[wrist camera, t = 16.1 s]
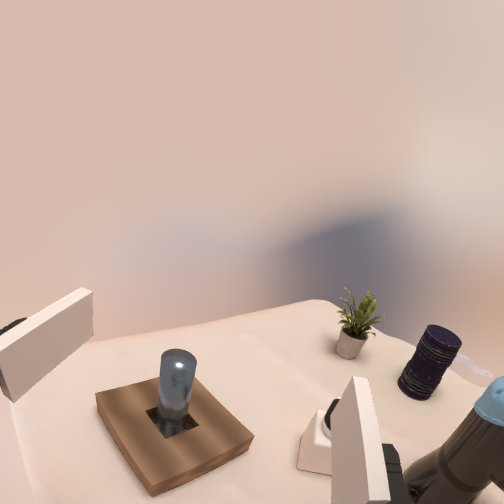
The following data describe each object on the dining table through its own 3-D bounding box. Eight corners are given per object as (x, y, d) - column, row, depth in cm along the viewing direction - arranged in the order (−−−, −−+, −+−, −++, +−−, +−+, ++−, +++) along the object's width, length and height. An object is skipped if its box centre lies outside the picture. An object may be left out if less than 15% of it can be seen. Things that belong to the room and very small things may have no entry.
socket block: (184, 385, 46) (187, 368, 45) (247, 450, 36) (254, 435, 35) (97, 410, 34) (95, 393, 33) (152, 497, 24) (152, 485, 23)
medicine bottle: (340, 477, 32) (381, 429, 29) (295, 469, 33) (329, 420, 30) (341, 444, 39) (375, 395, 36) (301, 436, 40) (330, 384, 37)
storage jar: (430, 383, 59) (459, 333, 55) (431, 405, 50) (465, 352, 46) (398, 370, 63) (425, 319, 59) (395, 392, 55) (427, 336, 50)
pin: (173, 421, 38) (184, 345, 33) (189, 439, 35) (203, 366, 31) (150, 429, 35) (154, 353, 31) (165, 449, 32) (173, 375, 28)
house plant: (319, 329, 77) (340, 274, 72) (366, 343, 74) (389, 290, 69) (315, 357, 63) (340, 294, 59) (369, 373, 61) (400, 312, 56)
